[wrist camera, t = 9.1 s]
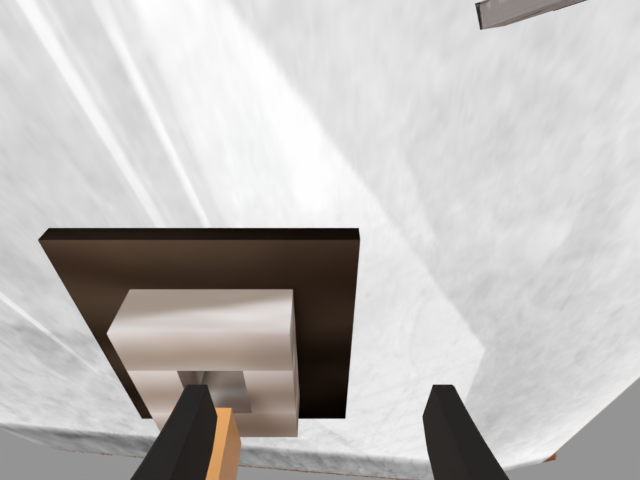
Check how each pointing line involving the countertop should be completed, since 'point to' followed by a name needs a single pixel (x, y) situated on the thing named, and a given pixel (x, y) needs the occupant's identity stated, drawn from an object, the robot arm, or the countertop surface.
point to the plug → (225, 447)
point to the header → (219, 316)
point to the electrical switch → (515, 10)
